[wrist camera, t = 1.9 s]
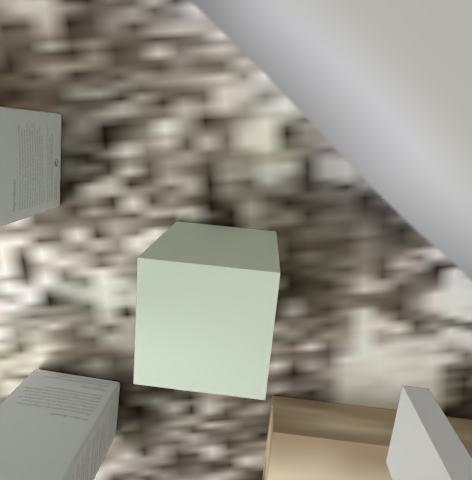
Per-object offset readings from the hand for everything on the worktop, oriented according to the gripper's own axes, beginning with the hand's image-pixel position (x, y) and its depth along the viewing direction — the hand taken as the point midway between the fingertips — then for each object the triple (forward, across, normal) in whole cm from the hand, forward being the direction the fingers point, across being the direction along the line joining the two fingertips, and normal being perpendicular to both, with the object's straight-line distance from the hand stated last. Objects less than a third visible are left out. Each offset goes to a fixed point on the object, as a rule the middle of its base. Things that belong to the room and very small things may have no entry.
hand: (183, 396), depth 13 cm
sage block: (+13, 0, 0) cm, 13 cm away
